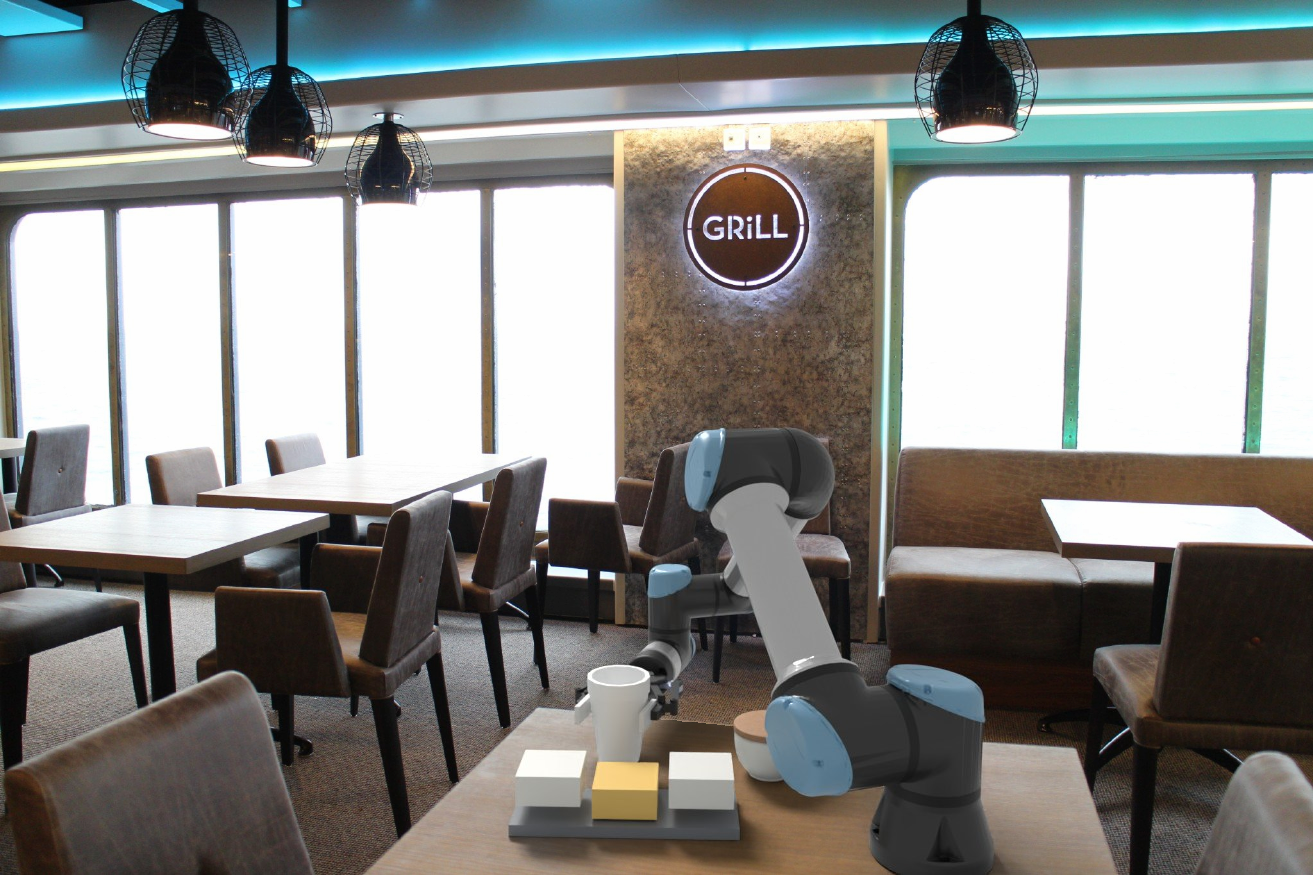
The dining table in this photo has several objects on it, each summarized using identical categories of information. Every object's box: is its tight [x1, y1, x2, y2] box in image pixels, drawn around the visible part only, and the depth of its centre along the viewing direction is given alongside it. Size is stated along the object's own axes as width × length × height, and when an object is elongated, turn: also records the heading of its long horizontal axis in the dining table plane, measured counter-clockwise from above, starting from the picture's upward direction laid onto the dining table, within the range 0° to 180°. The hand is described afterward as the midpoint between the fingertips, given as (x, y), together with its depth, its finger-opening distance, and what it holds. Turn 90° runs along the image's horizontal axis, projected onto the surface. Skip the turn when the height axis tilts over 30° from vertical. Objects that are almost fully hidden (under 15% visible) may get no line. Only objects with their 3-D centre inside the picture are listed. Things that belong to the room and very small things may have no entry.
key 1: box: [514, 749, 588, 807], centre depth 132 cm, size 8×8×4 cm
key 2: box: [668, 751, 735, 810], centre depth 132 cm, size 8×8×4 cm
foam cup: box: [586, 664, 650, 762], centre depth 148 cm, size 10×9×13 cm
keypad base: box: [508, 787, 741, 841], centre depth 132 cm, size 30×11×2 cm, turn 88°
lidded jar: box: [733, 709, 784, 783], centre depth 146 cm, size 11×11×9 cm
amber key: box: [591, 761, 660, 820], centre depth 132 cm, size 8×8×4 cm
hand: (608, 719), depth 144 cm, fingers closed on foam cup, 9 cm apart
